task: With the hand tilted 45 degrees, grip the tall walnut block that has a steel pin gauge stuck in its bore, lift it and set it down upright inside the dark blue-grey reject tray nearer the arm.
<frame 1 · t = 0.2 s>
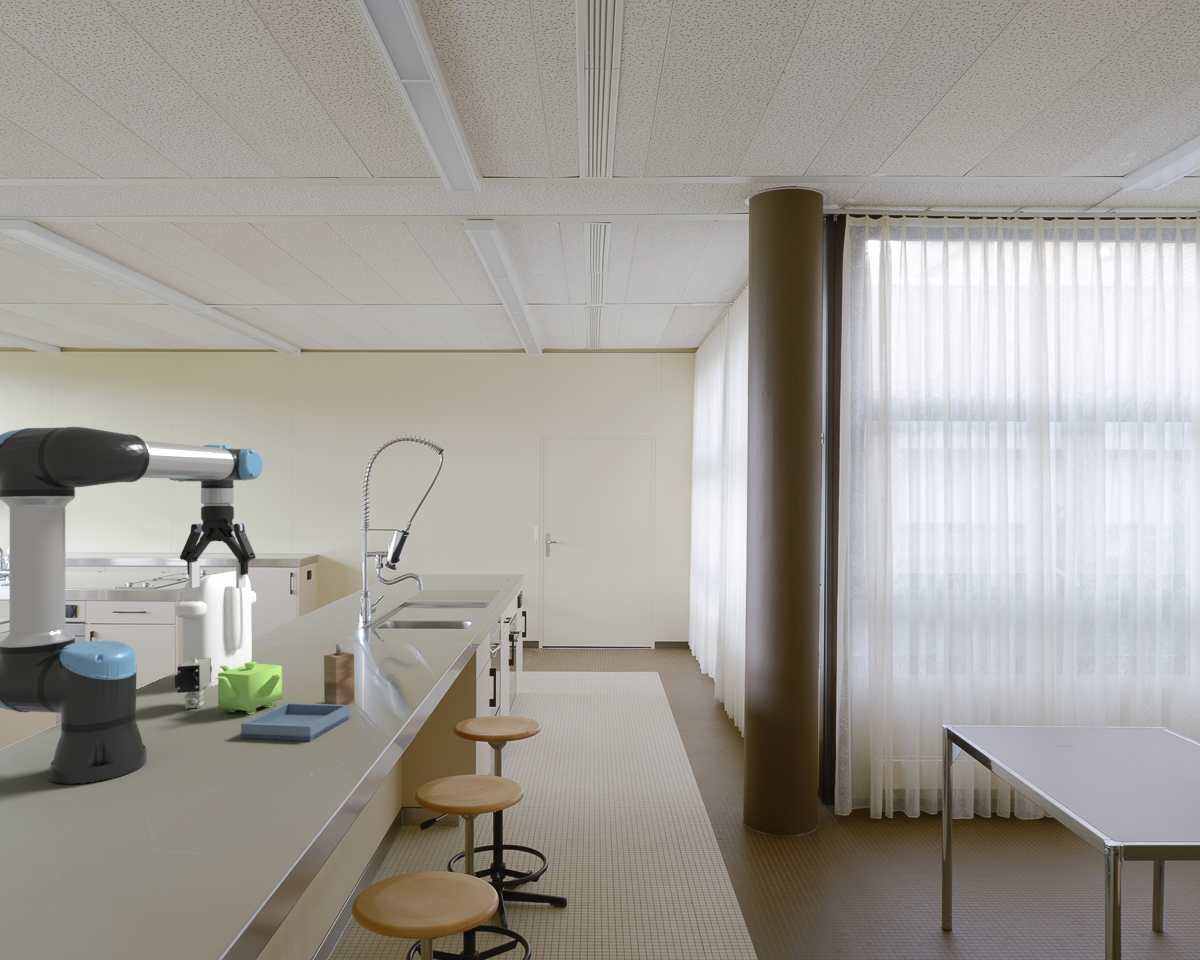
hand: (217, 587, 190), 28 cm above the countertop, tool pointing down, fingers open, 13 cm apart
toaster: (223, 680, 208), on the countertop
kettle: (247, 710, 177), on the countertop
reject tray: (297, 727, 162), on the countertop
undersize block: (339, 703, 181), on the countertop
pneumatic valve: (192, 707, 180), on the countertop
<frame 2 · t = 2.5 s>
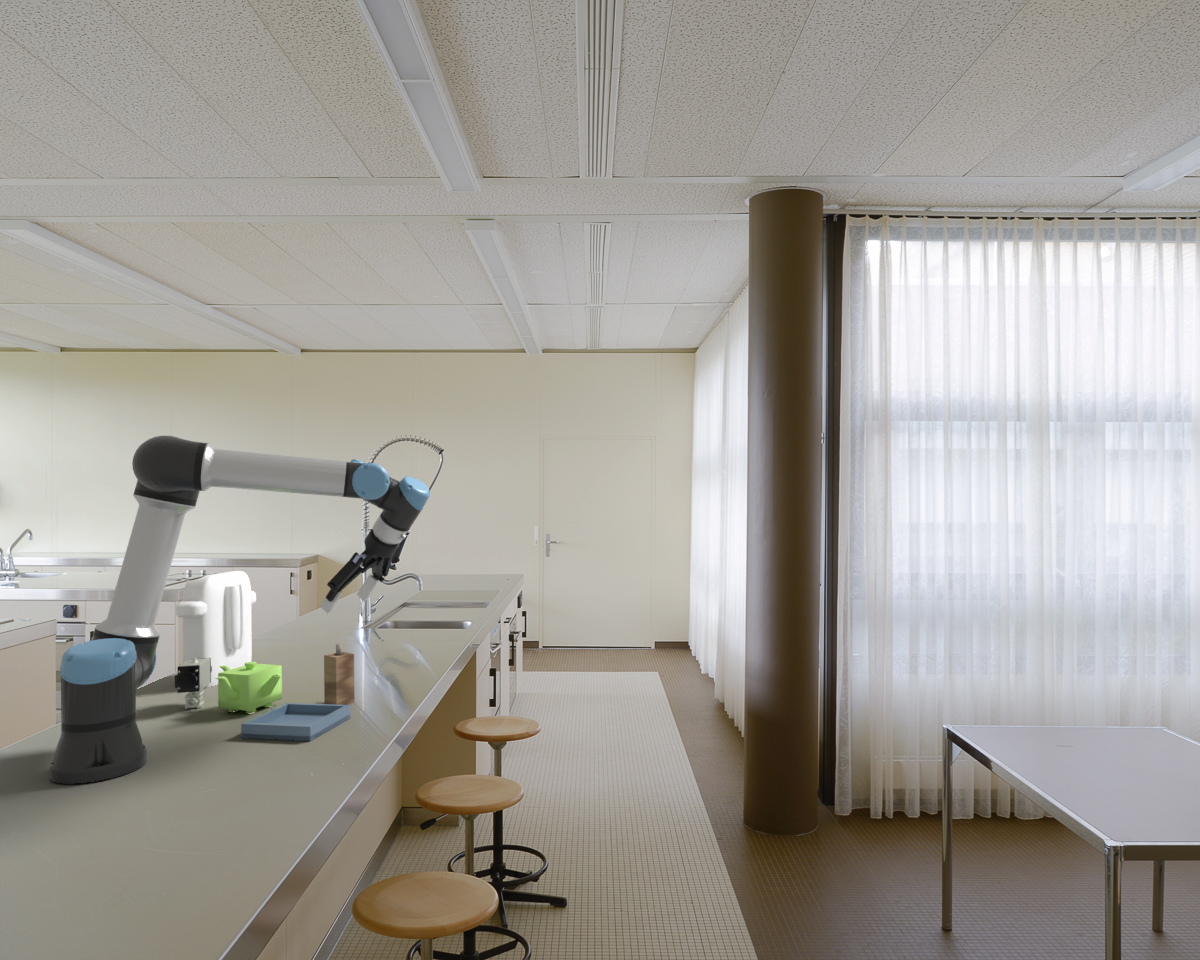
hand: (343, 603, 180), 25 cm above the countertop, tool tilted 40°, fingers open, 13 cm apart
nothing on the countertop moved.
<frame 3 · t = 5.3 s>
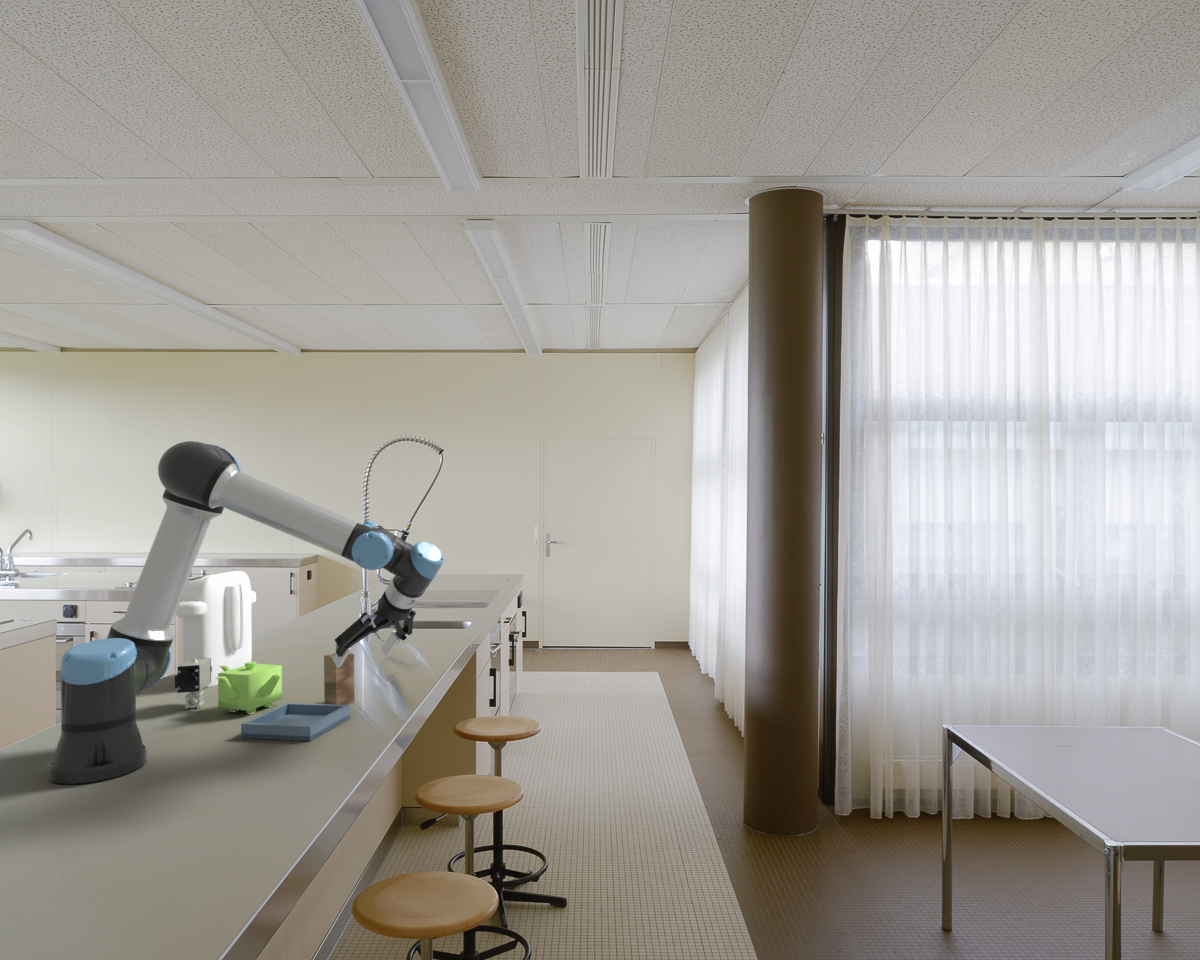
hand: (361, 657, 177), 12 cm above the countertop, tool tilted 45°, fingers open, 13 cm apart
nothing on the countertop moved.
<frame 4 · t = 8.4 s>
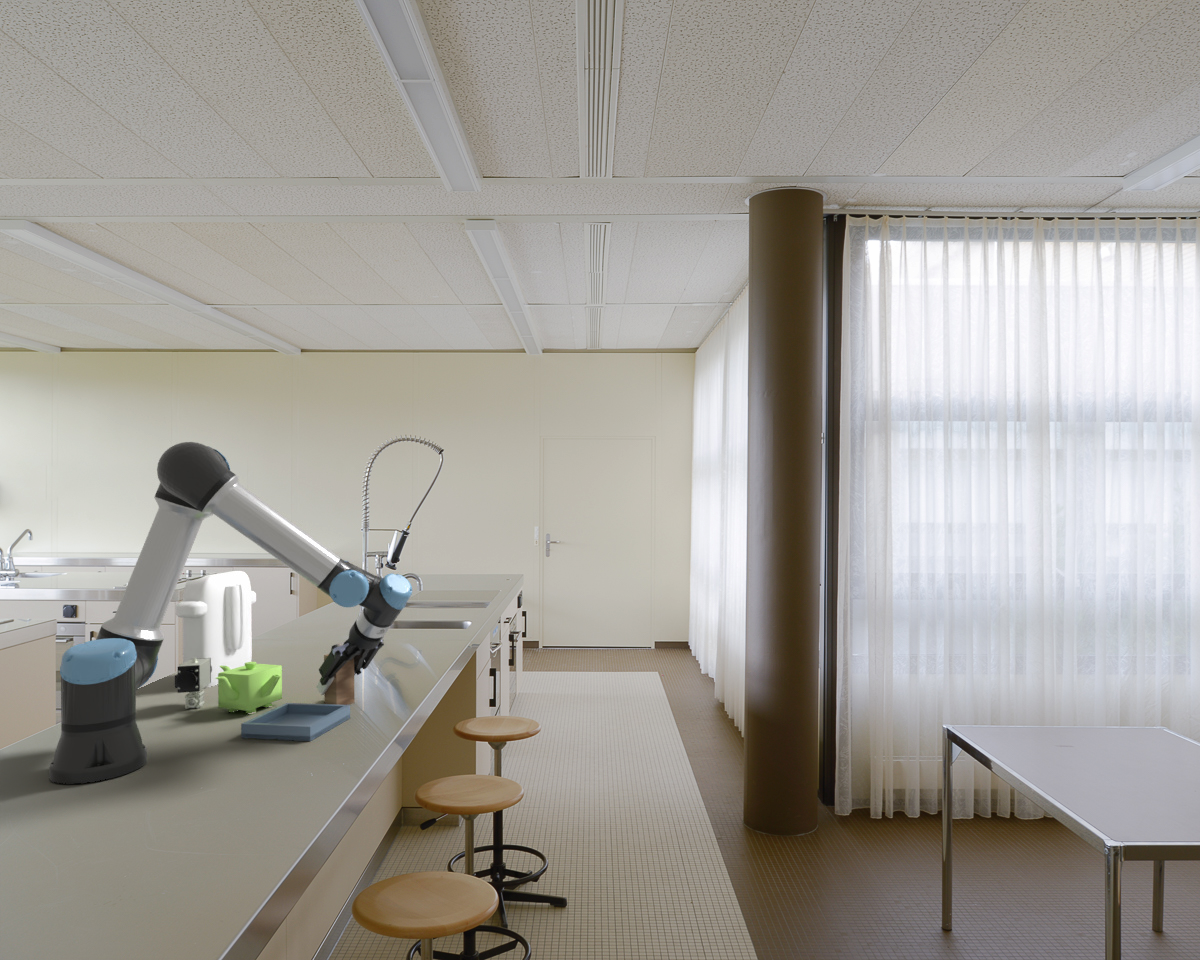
hand: (330, 687, 183), 3 cm above the countertop, tool tilted 45°, fingers closed on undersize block, 5 cm apart
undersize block: (339, 703, 181), on the countertop, touching gripper
everything else where it was.
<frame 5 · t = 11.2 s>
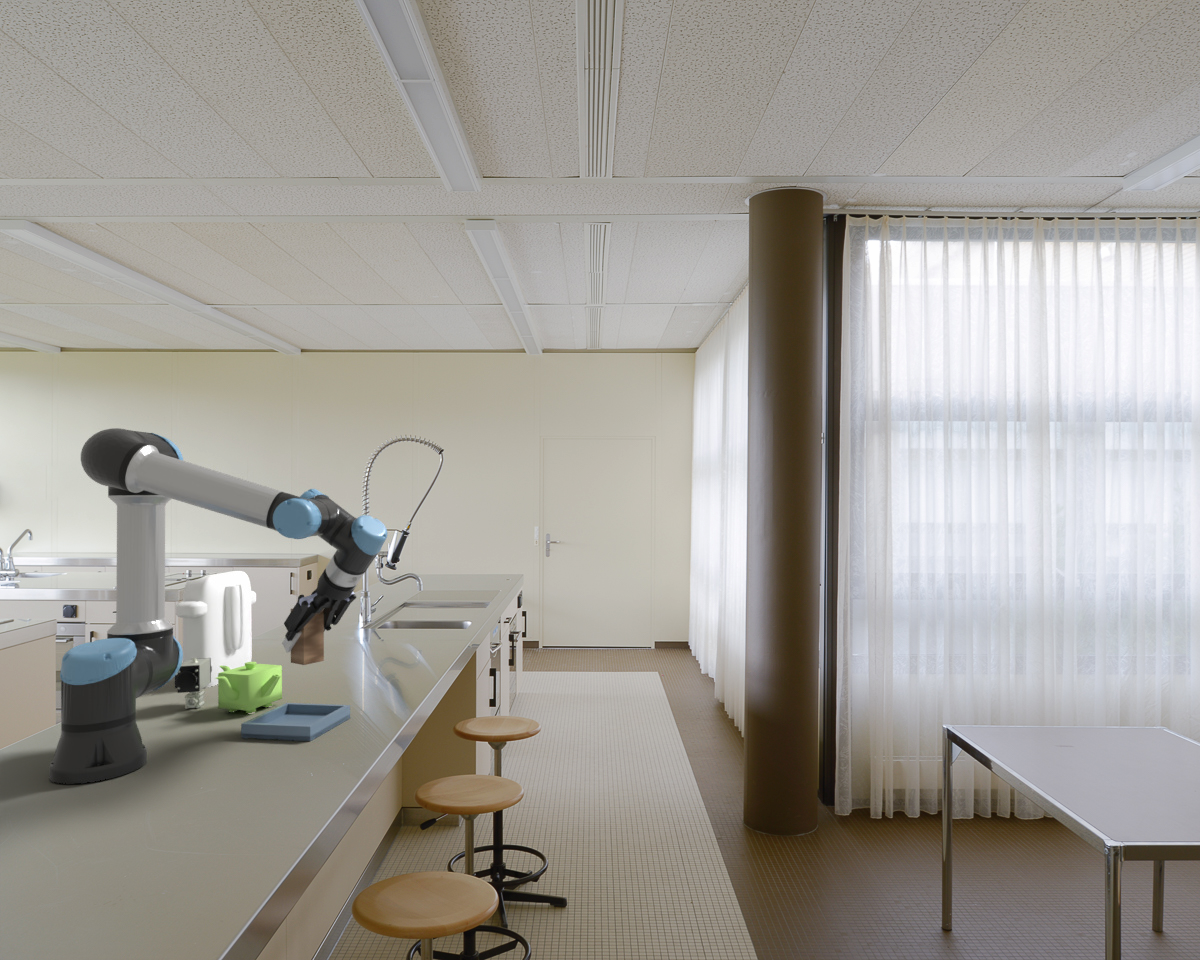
hand: (297, 645, 168), 17 cm above the countertop, tool tilted 45°, fingers closed on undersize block, 5 cm apart
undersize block: (307, 661, 166), point 14 cm above the countertop, touching gripper
everything else where it was.
when the fingers open (6 cm above the countertop, at t = 14.0 s): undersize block drops 1 cm, resting on reject tray.
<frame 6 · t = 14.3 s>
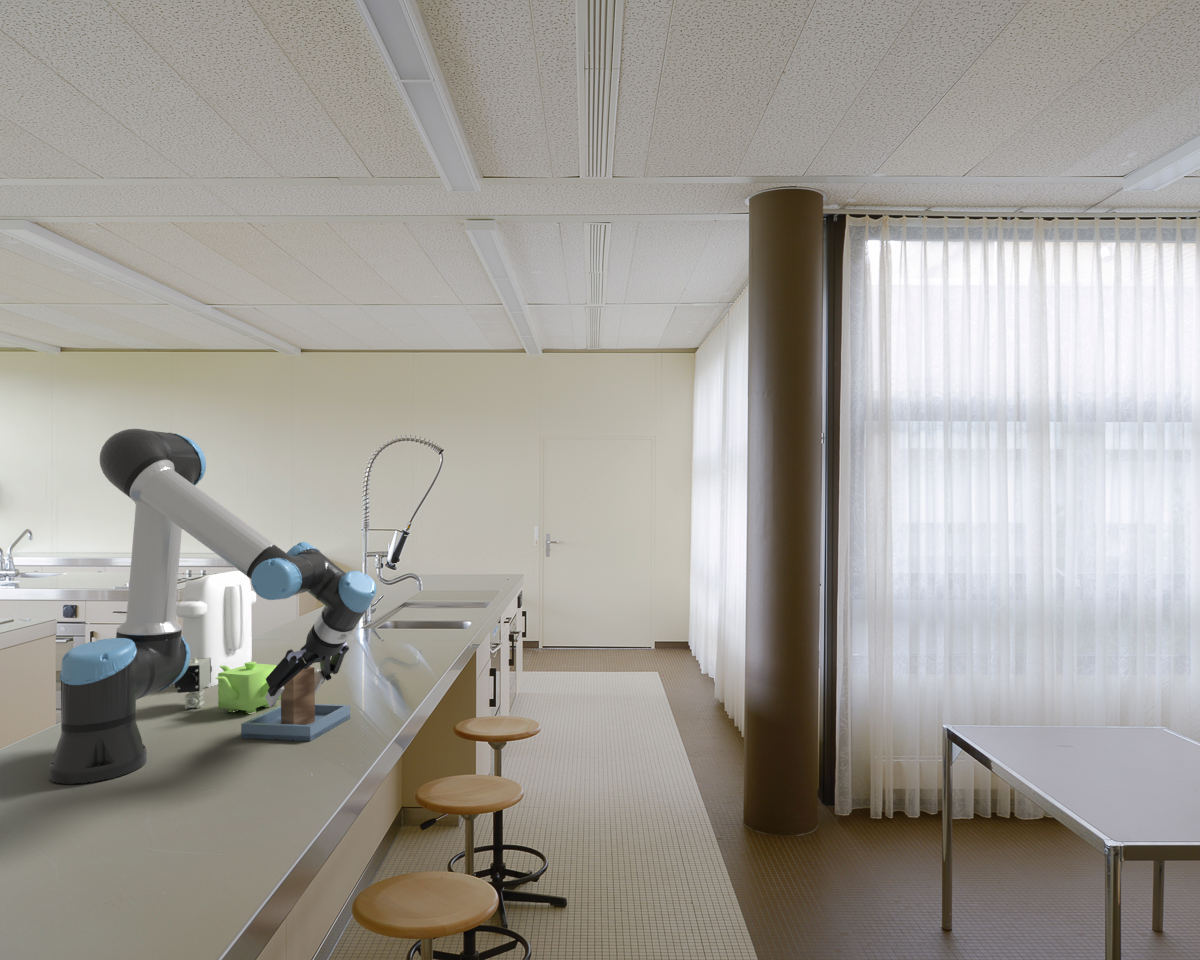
hand: (289, 696, 164), 6 cm above the countertop, tool tilted 45°, fingers open, 9 cm apart
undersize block: (298, 723, 162), point 1 cm above the countertop, touching reject tray
everything else where it was.
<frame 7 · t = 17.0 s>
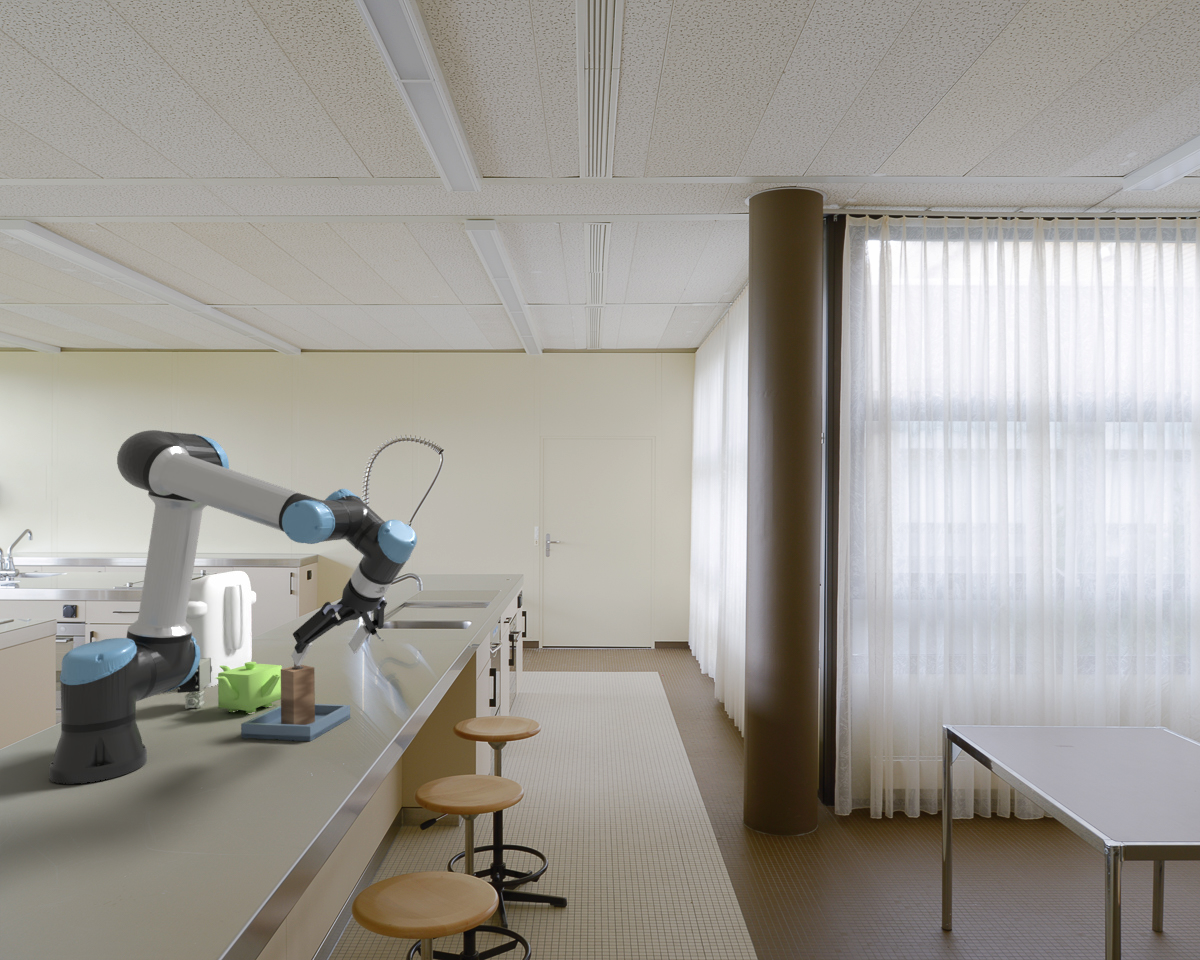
hand: (325, 654, 156), 17 cm above the countertop, tool tilted 45°, fingers open, 13 cm apart
nothing on the countertop moved.
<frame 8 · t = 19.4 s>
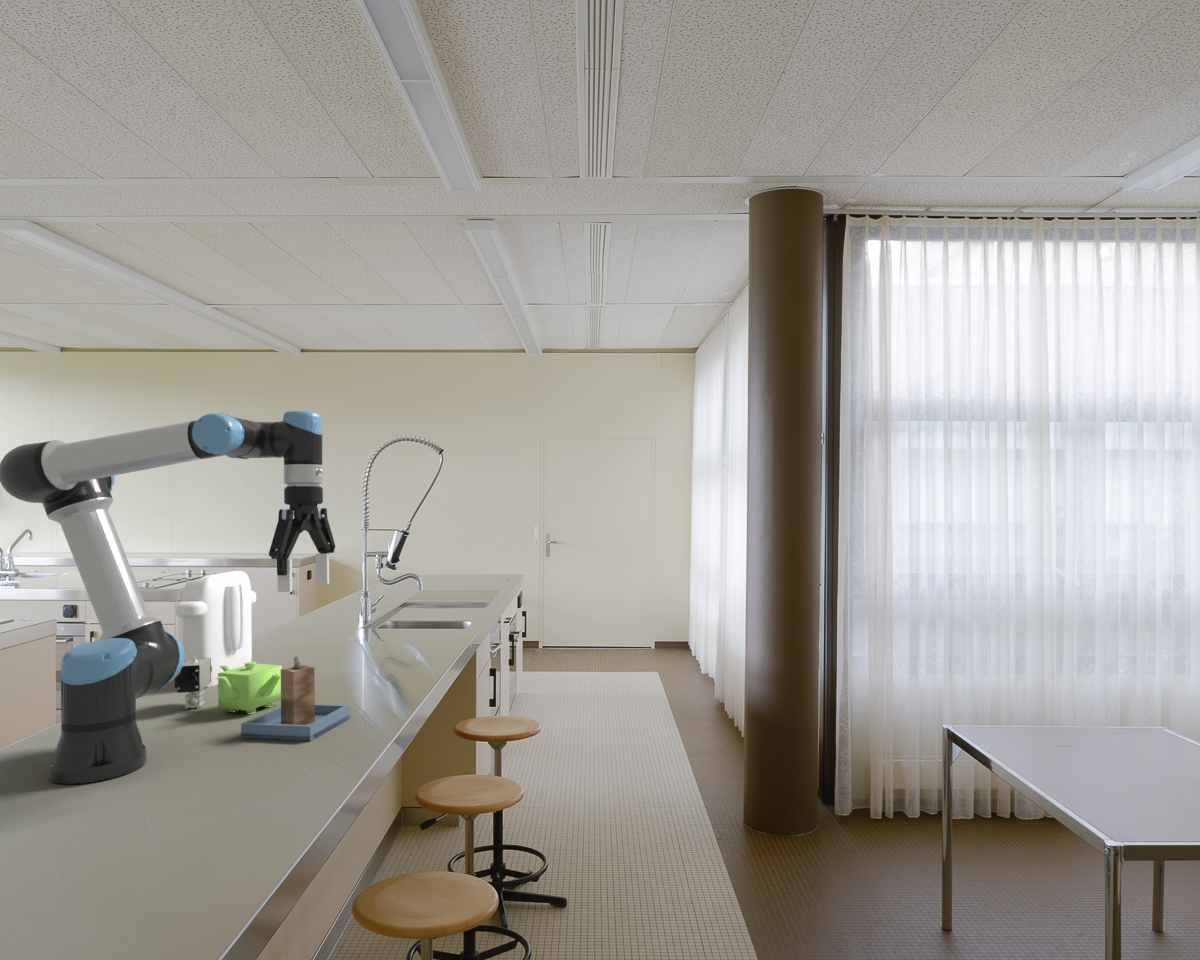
hand: (304, 587, 153), 32 cm above the countertop, tool pointing down, fingers open, 13 cm apart
nothing on the countertop moved.
at the end: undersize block inside the target area on the reject tray (0.1 cm from its centre), point 1.0 cm above the reject tray's base; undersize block tilted 0°; the gripper is holding nothing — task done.
